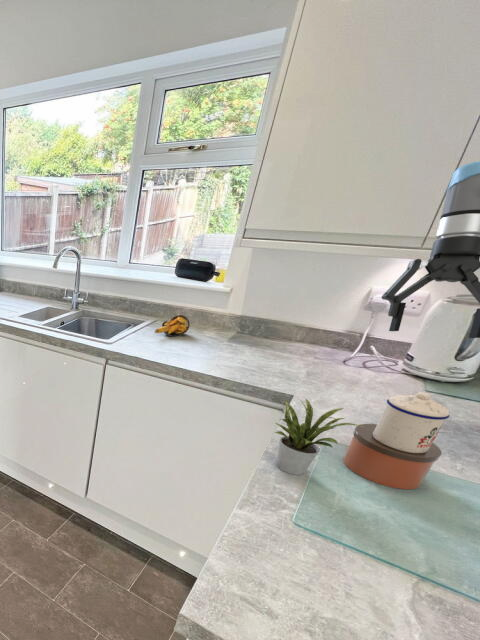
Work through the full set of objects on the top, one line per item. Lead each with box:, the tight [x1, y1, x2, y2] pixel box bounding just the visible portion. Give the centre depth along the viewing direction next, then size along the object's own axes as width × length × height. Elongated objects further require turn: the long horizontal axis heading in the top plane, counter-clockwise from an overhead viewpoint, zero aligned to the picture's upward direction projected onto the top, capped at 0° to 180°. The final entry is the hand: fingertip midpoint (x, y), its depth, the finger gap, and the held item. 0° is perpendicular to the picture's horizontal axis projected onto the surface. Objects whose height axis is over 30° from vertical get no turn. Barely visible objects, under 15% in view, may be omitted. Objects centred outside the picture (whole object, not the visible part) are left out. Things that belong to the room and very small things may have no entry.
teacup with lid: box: [373, 391, 450, 453], centre depth 86 cm, size 12×9×12 cm
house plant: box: [273, 398, 363, 476], centre depth 90 cm, size 14×14×16 cm
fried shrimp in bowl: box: [154, 314, 191, 337], centre depth 178 cm, size 9×11×18 cm
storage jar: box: [342, 423, 442, 490], centre depth 91 cm, size 14×14×8 cm
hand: (433, 334), depth 95 cm, fingers open, 13 cm apart
